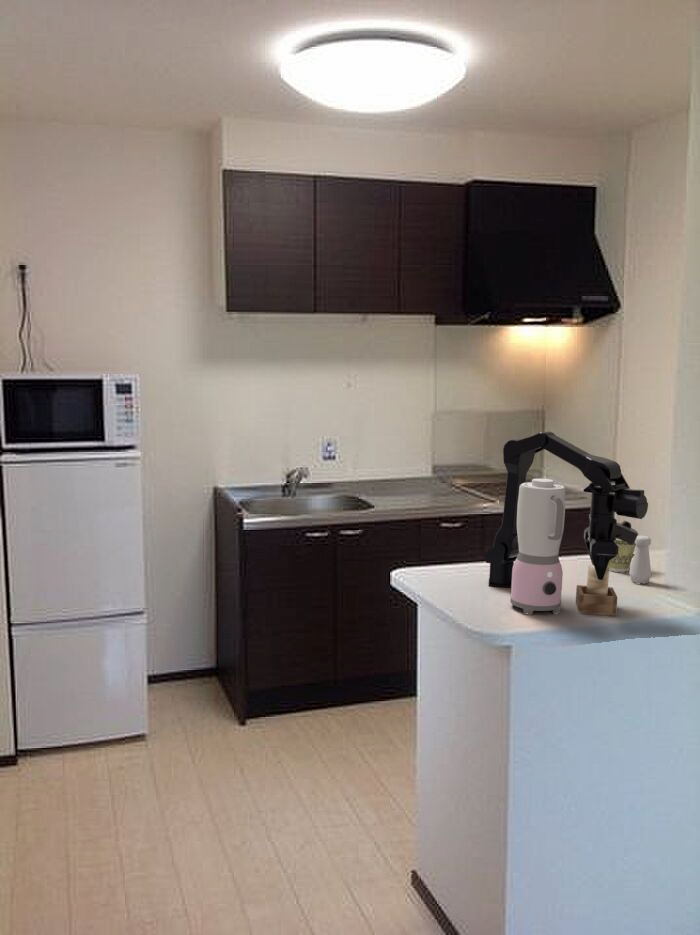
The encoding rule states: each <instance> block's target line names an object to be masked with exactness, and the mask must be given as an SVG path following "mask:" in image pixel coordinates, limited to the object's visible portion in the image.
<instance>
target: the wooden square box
mask: <svg viewBox="0 0 700 935" xmlns="http://www.w3.org/2000/svg"><path fill="white" fill-rule="evenodd" d="M586 591H587V585H582V584H581V585H580V584H577V585H576V591H575V606H576V609H577V612H578V614H585V615H586V614H587V615H599V616H615V617H616V616H617V610H618V595H617V593H616V592H615V589H614V588H613V587H611V586H610V587H609V586H608V593H607V596H605V595H590V594H586Z"/></svg>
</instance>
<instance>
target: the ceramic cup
mask: <svg viewBox="0 0 700 935" xmlns="http://www.w3.org/2000/svg"><path fill="white" fill-rule="evenodd" d="M614 542H615V543H616V544H617V545H618V547H619V550H618V555H617V556H616V557H614V558H612V559H611V560H610V561H609V563H608V566H607V567H609V570H610V571H609V572H612V571H614V572H613V573H626V572H625V571H627V572H630V568H631V564H632V561H633V557H634V554H635V550H636V547H637V545H636V544H635V542H634V544H633V545H630V544H628V543H627V542H625V541H623V540H620V539H618V538H616V540H614Z"/></svg>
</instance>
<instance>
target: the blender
mask: <svg viewBox="0 0 700 935" xmlns="http://www.w3.org/2000/svg"><path fill="white" fill-rule="evenodd" d="M565 515H566V488H565V486H564V485H562V484H558V483H554V480H552V479H551V478H550V479H549V478H532V480H531V481H530V482H525V483H522V484H521V485H520V487H519V497H518V507H517V535H518V544H519V553H518V556H517V558H516V560H515V561H514V565H513V569H512V587H510V589H511V591H510V593H511V594H510V604H511V605H512V606H514V607H517V608H521V609H523V614H524V613H528V614H527V615H529V614H532V615H533V613H534V612H533V611H537V612H538V611H540V612H541V611H542V612H543V611H544V612H547V611H552V614H553V613H554V614H553V615H556V613H557V614H558V613H560V608H561V606H562V588H563V574H564V572H563V567H562V564H561V561H560V558H559V552H560V546H561V543H562V538H563V534H564V530H565V528H564V527H565V519H566V518H565Z"/></svg>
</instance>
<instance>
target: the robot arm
mask: <svg viewBox="0 0 700 935" xmlns="http://www.w3.org/2000/svg"><path fill="white" fill-rule="evenodd" d="M544 450H545V451H547V452H549V453H550V454H552V455H554V456H555V457H558V458H559V459H560V460H563V461H564V462H567V463H568V464H569V465H572V466H573V467H575V468H577V469H578V470H579V471H580V472H581V474H582V475H583V476H584V477H585V479H587V480H588V481H589V482H590V483H589V485H587V486H586V487H585V488H583V490H582V491H583V492H584V493H587V494H588V493H589V494H591V498H590V513H589V514H588V519H589V526H587V527H586V528H585V529H584V531H583V539H584V543H585V546H586V549H587V553H588V554H589V555H588V556H589V558H590V561H591V565H594V567H595V571H596V574H597V577H598V579H599V580H603V578H604V575H605V572H606V569H607V566H608V563H609V561H610V560H611V559H612V558H614V557H616V556H617V555H618V550H619V547H618V545H617V544H616V543H615V542H614V540H616V538H618V539H620V540H623V541H625V542H627V543H628V544H630V545H633V544H634V542H635V540H636V538H637V536H639V532H638V531H637V530H635V528H632V523H631V522H630V521H627V520H623V521H622V522H618V521H617V519H616V518H615V514H616V515H617V516H622V517H627V518H633V519H637V520H638V519H639V520H642V519H644V518H645V516H647V512H648V509H649V502H648V499H647V497H646V495H645V490H644V489H632V488H630V486H629V484H628V482H627V481H626V479H625V477H624V475H623V474H622V469H621V464H619V463H618V462H617V461H615V460H612V459H610V458H606V457H604V456H603V457H602V456H597V455H594V454H592V453H588V452H586V451H585V450H583V449H581V448H580V447H578V446H576V445H574V444H572V443H570V442H568V441H567V440H566V439H563V438H562V437H560V436H558V435H556V434H555V433H554V432H553V431H549V430H548V431H541V432H540V431H539V432H537V433H536V434H534V435H531V436H528V437H525V438H520V439H519V438H518V439H511V440H508V441H507V442H505V443H504V445H503V448H502V456H503V457H502V458H503V459H502V460H503V465H504V466H505V469H506V471H507V474H506V482H505V484H506V486H505V493H504V503H503V513H502V514H503V515H502V520H501V522H502V523H501V526H500V528H499V529H498V531H497V532H496V534H495V537H494V541H493V545H492V547H491V548H490V549H489V550H488V551H487V552H485V553H484V554H483V556H484V562H485V563H486V564H489V575H488V577H489V578H488V586H489V587H501V588H511V587H512V569H513V565H514V562H515V560H516V558H517V556H518V553H519V544H518V535H517V507H518V497H519V487H520V485H521V484H522V483H526V479H527V474H528V472H529V469H530V468H531V466H532V465H533V462H534V459H535V455H536V454H537V453H540V452H543V451H544Z"/></svg>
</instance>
